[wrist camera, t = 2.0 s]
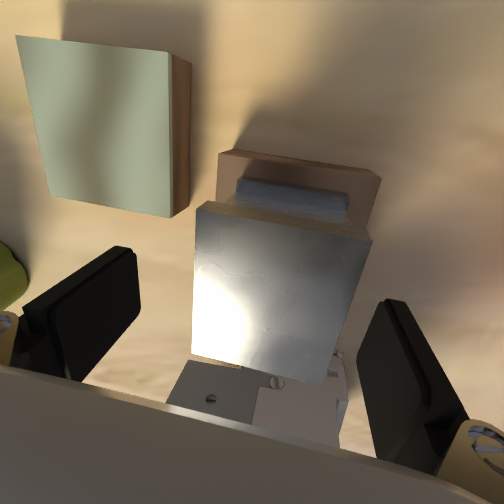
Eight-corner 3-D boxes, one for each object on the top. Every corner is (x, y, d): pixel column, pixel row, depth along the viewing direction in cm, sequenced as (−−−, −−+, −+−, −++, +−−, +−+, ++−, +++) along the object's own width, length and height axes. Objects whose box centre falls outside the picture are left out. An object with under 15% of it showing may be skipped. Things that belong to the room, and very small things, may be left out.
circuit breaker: (187, 326, 26) (54, 541, 12) (342, 352, 23) (382, 652, 10) (192, 380, 29) (90, 597, 16) (328, 409, 27) (344, 691, 13)
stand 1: (191, 63, 16) (167, 51, 14) (188, 206, 20) (170, 218, 18) (60, 48, 18) (15, 35, 15) (82, 186, 22) (49, 195, 19)
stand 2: (370, 170, 17) (381, 178, 14) (333, 289, 21) (337, 313, 18) (232, 149, 18) (218, 153, 15) (222, 265, 22) (210, 284, 19)
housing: (347, 192, 15) (372, 241, 9) (318, 296, 18) (321, 386, 12) (242, 175, 16) (196, 208, 9) (231, 277, 19) (191, 353, 13)
